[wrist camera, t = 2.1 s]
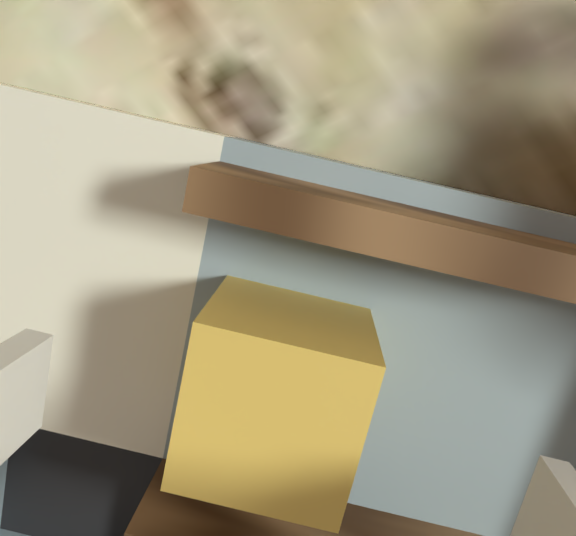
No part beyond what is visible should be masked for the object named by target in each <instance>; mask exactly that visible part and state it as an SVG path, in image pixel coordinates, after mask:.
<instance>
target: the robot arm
mask: <svg viewBox="0 0 576 536" xmlns="http://www.w3.org/2000/svg"><path fill="white" fill-rule="evenodd" d="M53 337H54V335H51V334H47V333H43V332H39V331H35V330H31V329H27V328H26V329H24V330H22V331H21V332H19V333H17V334H15V335H14V336H12V337H10V338H9V339H7V340H5V341H3V342H2V343H0V465H2V464H3V463H4V462H5V461H6V460H7V459H8V458H9V457H10V456H11V455H12V454H13V453H14V452H15V451H16V450H17V449H18V448H19V447H20V446H22V445H23V444H24V443H25V442H26V441H27V440H28V439H29V438H30V437H31V436H32V435H33V434H34V433H35V432H36V431H37V430H38V429H39V428H41V427H42V420H43V412H44V405H45V397H46V390H47V382H48V374H49V367H50V359H51V352H52V344H53ZM510 536H576V470H575V469H574V468H573V466H572V465H571V464H570V462H567V461H562V460H558V459H554V458H550V457H546V456H542V455H540V457H539V459H538V462H537V465H536V467H535V470H534V473H533V475H532V478H531V481H530V484H529V486H528V489H527V492H526V494H525V497H524V500H523V502H522V505H521V508H520V510H519V513H518V516H517V518H516V521H515V524H514V526H513V529H512V532H511V535H510Z"/></svg>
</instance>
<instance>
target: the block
mask: <svg viewBox="0 0 576 536" xmlns="http://www.w3.org/2000/svg"><path fill="white" fill-rule="evenodd" d="M385 370H386V365H385V361H384V358H383V354H382V350H381V347H380V343H379V339H378V336H377V332H376V328H375V325H374V321H373V317H372V314H371V310H370V309H369V308H365V307H360V306H356V305H352V304H348V303H343V302H339V301H335V300H331V299H326V298H322V297H318V296H314V295H309V294H305V293H301V292H297V291H292V290H288V289H284V288H280V287H275V286H271V285H267V284H263V283H258V282H254V281H250V280H246V279H241V278H237V277H233V276H229V275H227V277H226V278H225V279H224V281H223V282H222V283H221V285H220V286H219V287H218V289H217V290H216V291H215V293H214V294H213V295H212V297H211V298H210V300H209V301H208V302H207V304H206V305H205V306H204V308H203V309H202V310H201V312H200V313H199V314H198V316H197V317H196V318H195V320H194V321H193V324H192V329H191V334H190V339H189V345H188V350H187V355H186V360H185V365H184V370H183V376H182V381H181V386H180V391H179V396H178V402H177V407H176V412H175V417H174V422H173V427H172V433H171V438H170V443H169V448H168V453H167V459H166V464H165V469H164V474H163V479H162V484H161V490H160V491H163V492H167V493H171V494H176V495H180V496H184V497H188V498H192V499H196V500H200V501H205V502H209V503H213V504H217V505H221V506H225V507H229V508H234V509H238V510H242V511H246V512H250V513H254V514H258V515H263V516H267V517H271V518H275V519H279V520H283V521H287V522H292V523H296V524H300V525H304V526H308V527H312V528H316V529H320V530H325V531H329V532H333V533H337V534H338V533H339V530H340V526H341V523H342V519H343V516H344V512H345V509H346V505H347V502H348V499H349V495H350V492H351V488H352V485H353V481H354V478H355V474H356V471H357V467H358V464H359V460H360V457H361V453H362V450H363V447H364V443H365V440H366V436H367V433H368V429H369V426H370V422H371V419H372V415H373V412H374V408H375V405H376V401H377V398H378V395H379V391H380V388H381V384H382V381H383V377H384V374H385Z"/></svg>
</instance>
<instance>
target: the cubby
mask: <svg viewBox="0 0 576 536" xmlns="http://www.w3.org/2000/svg"><path fill="white" fill-rule="evenodd" d="M182 212H185V213H189V214H193V215H198V216H202V217H206V218H210V219H215V220H219V221H223V222H227V223H232V224H236V225H240V226H245V227H249V228H253V229H257V230H262V231H266V232H270V233H274V234H279V235H283V236H287V237H292V238H296V239H300V240H304V241H309V242H313V243H317V244H322V245H326V246H330V247H334V248H339V249H343V250H347V251H351V252H356V253H360V254H364V255H369V256H373V257H377V258H381V259H386V260H390V261H394V262H398V263H403V264H407V265H411V266H416V267H420V268H424V269H428V270H433V271H437V272H441V273H445V274H450V275H454V276H458V277H463V278H467V279H471V280H475V281H480V282H484V283H488V284H492V285H497V286H501V287H505V288H510V289H514V290H518V291H522V292H527V293H531V294H535V295H539V296H544V297H548V298H552V299H557V300H561V301H565V302H569V303H574V304H576V244H574V243H570V242H565V241H561V240H557V239H553V238H548V237H544V236H540V235H535V234H531V233H527V232H522V231H518V230H514V229H510V228H505V227H501V226H497V225H492V224H488V223H484V222H479V221H475V220H471V219H467V218H462V217H458V216H454V215H449V214H445V213H441V212H436V211H432V210H428V209H423V208H419V207H415V206H411V205H406V204H402V203H398V202H393V201H389V200H385V199H380V198H376V197H372V196H368V195H363V194H359V193H355V192H350V191H346V190H342V189H337V188H333V187H329V186H325V185H320V184H316V183H312V182H307V181H303V180H299V179H294V178H290V177H286V176H281V175H277V174H273V173H269V172H264V171H260V170H256V169H251V168H247V167H243V166H238V165H234V164H230V163H226V162H221V161H217V162H211V163H205V164H199V165H193V166H190V169H189V174H188V180H187V186H186V191H185V197H184V202H183V208H182ZM165 464H166V459H162V461H161V463H160V465H159V467H158V469H157V471H156V473H155V475H154V476H153V478H152V480H151V482H150V484H149V486H148V488H147V490H146V492H145V494H144V496H143V498H142V500H141V502H140V504H139V506H138V507H137V509H136V511H135V513H134V515H133V517H132V519H131V521H130V523H129V525H128V527H127V529H126V531H125V533H124V536H483V535H479V534H475V533H471V532H467V531H462V530H458V529H454V528H450V527H446V526H442V525H438V524H433V523H429V522H425V521H421V520H417V519H413V518H408V517H404V516H400V515H396V514H392V513H388V512H384V511H379V510H375V509H371V508H367V507H363V506H359V505H354V504H350V503H347V505H346V509H345V512H344V516H343V519H342V523H341V526H340V530H339V533H338V534H337V533H333V532H329V531H325V530H320V529H316V528H312V527H308V526H304V525H300V524H296V523H292V522H287V521H283V520H279V519H275V518H271V517H267V516H263V515H258V514H254V513H250V512H246V511H242V510H238V509H234V508H229V507H225V506H221V505H217V504H213V503H209V502H205V501H200V500H196V499H192V498H188V497H184V496H180V495H176V494H171V493H167V492H163V491H160V490H161V484H162V479H163V474H164V469H165Z"/></svg>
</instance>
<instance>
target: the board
mask: <svg viewBox="0 0 576 536" xmlns="http://www.w3.org/2000/svg"><path fill="white" fill-rule="evenodd" d="M217 161H221V162H226V163H230V164H234V165H238V166H243V167H247V168H251V169H256V170H260V171H264V172H269V173H273V174H277V175H281V176H286V177H290V178H294V179H299V180H303V181H307V182H312V183H316V184H320V185H325V186H329V187H333V188H337V189H342V190H346V191H350V192H355V193H359V194H363V195H368V196H372V197H376V198H380V199H385V200H389V201H393V202H398V203H402V204H406V205H411V206H415V207H419V208H423V209H428V210H432V211H436V212H441V213H445V214H449V215H454V216H458V217H462V218H467V219H471V220H475V221H479V222H484V223H488V224H492V225H497V226H501V227H505V228H510V229H514V230H518V231H522V232H527V233H531V234H535V235H540V236H544V237H548V238H553V239H557V240H561V241H565V242H570V243H574V244H576V216H574V215H569V214H565V213H561V212H556V211H552V210H548V209H544V208H539V207H535V206H531V205H526V204H522V203H518V202H513V201H509V200H505V199H500V198H496V197H492V196H487V195H483V194H479V193H474V192H470V191H466V190H462V189H457V188H453V187H449V186H444V185H440V184H436V183H431V182H427V181H423V180H418V179H414V178H410V177H405V176H401V175H397V174H392V173H388V172H384V171H379V170H375V169H371V168H367V167H362V166H358V165H354V164H349V163H345V162H341V161H336V160H332V159H328V158H323V157H319V156H315V155H310V154H306V153H302V152H297V151H293V150H289V149H285V148H280V147H276V146H272V145H267V144H263V143H259V142H254V141H250V140H246V139H241V138H237V137H233V136H228V135H224V134H220V133H215V132H211V131H207V130H203V129H198V128H194V127H190V126H185V125H181V124H177V123H172V122H168V121H164V120H159V119H155V118H151V117H146V116H142V115H138V114H133V113H129V112H125V111H121V110H116V109H112V108H108V107H103V106H99V105H95V104H90V103H86V102H82V101H77V100H73V99H69V98H64V97H60V96H56V95H51V94H47V93H43V92H38V91H34V90H30V89H26V88H21V87H17V86H13V85H8V84H4V83H0V343H2V342H3V341H5V340H7V339H9V338H10V337H12V336H14V335H15V334H17V333H19V332H21V331H22V330H24V329H26V328H27V329H31V330H35V331H39V332H43V333H47V334H51V335H54V337H53V344H52V352H51V359H50V367H49V374H48V382H47V390H46V397H45V405H44V412H43V420H42V427H41V428H39V429H38V430H37V431H36V432H35V433H34V434H33V435H32V436H31V437H30V438H29V439H28V440H27V441H26V442H25V443H24V444H23V445H22V446H20V447H19V448H18V449H17V450H16V451H15V452H14V453H13V454H12V455H11V456H10V457H9V458H8V459H7V460H6V461H5V462H4V463H3V464H2V465H0V536H124V533H125V531H126V529H127V527H128V525H129V523H130V521H131V519H132V517H133V515H134V513H135V511H136V509H137V507H138V506H139V504H140V502H141V500H142V498H143V496H144V494H145V492H146V490H147V488H148V486H149V484H150V482H151V480H152V478H153V476H154V475H155V473H156V471H157V469H158V467H159V465H160V463H161V461H162V459H167V453H168V448H169V443H170V438H171V433H172V427H173V422H174V417H175V412H176V407H177V402H178V396H179V391H180V386H181V381H182V376H183V370H184V365H185V360H186V355H187V350H188V345H189V339H190V334H191V329H192V324H193V321H194V320H195V318H196V317H197V316H198V314H199V313H200V312H201V310H202V309H203V308H204V306H205V305H206V304H207V302H208V301H209V300H210V298H211V297H212V295H213V294H214V293H215V291H216V290H217V289H218V287H219V286H220V285H221V283H222V282H223V281H224V279H225V278H226V277H227V275H229V276H233V277H237V278H241V279H246V280H250V281H254V282H258V283H263V284H267V285H271V286H275V287H280V288H284V289H288V290H292V291H297V292H301V293H305V294H309V295H314V296H318V297H322V298H326V299H331V300H335V301H339V302H343V303H348V304H352V305H356V306H360V307H365V308H369V309H370V310H371V314H372V317H373V321H374V325H375V328H376V332H377V336H378V339H379V343H380V347H381V350H382V354H383V358H384V361H385V365H386V370H385V374H384V377H383V381H382V384H381V388H380V391H379V395H378V398H377V401H376V405H375V408H374V412H373V415H372V419H371V422H370V426H369V429H368V433H367V436H366V440H365V443H364V447H363V450H362V453H361V457H360V460H359V464H358V467H357V471H356V474H355V478H354V481H353V485H352V488H351V492H350V495H349V499H348V502H347V503H350V504H354V505H359V506H363V507H367V508H371V509H375V510H379V511H384V512H388V513H392V514H396V515H400V516H404V517H408V518H413V519H417V520H421V521H425V522H429V523H433V524H438V525H442V526H446V527H450V528H454V529H458V530H462V531H467V532H471V533H475V534H479V535H483V536H510V535H511V532H512V529H513V526H514V524H515V521H516V518H517V516H518V513H519V510H520V508H521V505H522V502H523V500H524V497H525V494H526V492H527V489H528V486H529V484H530V481H531V478H532V475H533V473H534V470H535V467H536V465H537V462H538V459H539V457H540V455H542V456H546V457H550V458H554V459H558V460H562V461H567V462H570V464H571V465H572V466H573V468H574V469H575V470H576V304H574V303H569V302H565V301H561V300H557V299H552V298H548V297H544V296H539V295H535V294H531V293H527V292H522V291H518V290H514V289H510V288H505V287H501V286H497V285H492V284H488V283H484V282H480V281H475V280H471V279H467V278H463V277H458V276H454V275H450V274H445V273H441V272H437V271H433V270H428V269H424V268H420V267H416V266H411V265H407V264H403V263H398V262H394V261H390V260H386V259H381V258H377V257H373V256H369V255H364V254H360V253H356V252H351V251H347V250H343V249H339V248H334V247H330V246H326V245H322V244H317V243H313V242H309V241H304V240H300V239H296V238H292V237H287V236H283V235H279V234H274V233H270V232H266V231H262V230H257V229H253V228H249V227H245V226H240V225H236V224H232V223H227V222H223V221H219V220H215V219H210V218H206V217H202V216H198V215H193V214H189V213H185V212H182V208H183V202H184V197H185V191H186V186H187V180H188V174H189V169H190V166H193V165H199V164H205V163H211V162H217Z"/></svg>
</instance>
